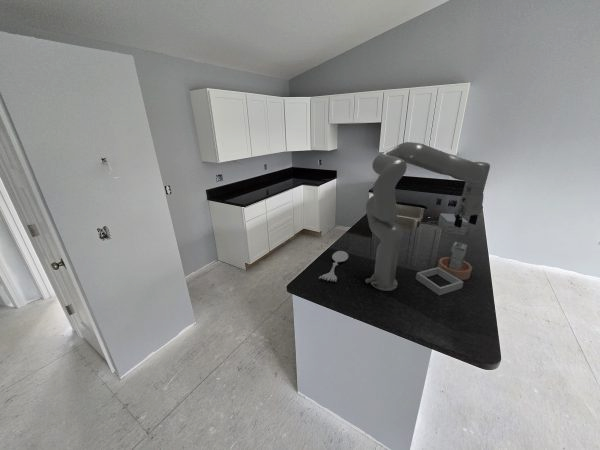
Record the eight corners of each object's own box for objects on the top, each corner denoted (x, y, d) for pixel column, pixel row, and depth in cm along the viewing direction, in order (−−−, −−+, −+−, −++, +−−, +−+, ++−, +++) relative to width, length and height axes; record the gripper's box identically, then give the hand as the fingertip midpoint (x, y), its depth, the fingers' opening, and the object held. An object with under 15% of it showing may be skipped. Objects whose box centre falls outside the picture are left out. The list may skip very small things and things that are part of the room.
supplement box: (465, 235, 172) (469, 222, 168) (444, 233, 174) (447, 221, 171) (456, 225, 187) (459, 213, 184) (437, 224, 189) (439, 212, 186)
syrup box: (448, 265, 134) (454, 241, 128) (461, 269, 130) (467, 244, 125) (445, 270, 130) (451, 245, 124) (458, 274, 126) (465, 248, 121)
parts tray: (439, 295, 113) (440, 289, 112) (415, 278, 125) (416, 272, 124) (461, 288, 118) (463, 281, 116) (436, 272, 130) (438, 266, 128)
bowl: (455, 282, 122) (457, 274, 120) (431, 267, 134) (432, 260, 133) (476, 276, 126) (478, 268, 125) (451, 262, 139) (453, 255, 137)
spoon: (318, 283, 124) (318, 277, 123) (334, 253, 151) (335, 248, 150) (336, 286, 121) (336, 280, 120) (349, 256, 148) (350, 250, 147)
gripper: (467, 194, 108) (458, 230, 114) (495, 190, 114) (485, 225, 120) (452, 190, 114) (444, 225, 121) (478, 186, 120) (470, 220, 127)
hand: (464, 225), depth 120 cm, fingers open, 9 cm apart
